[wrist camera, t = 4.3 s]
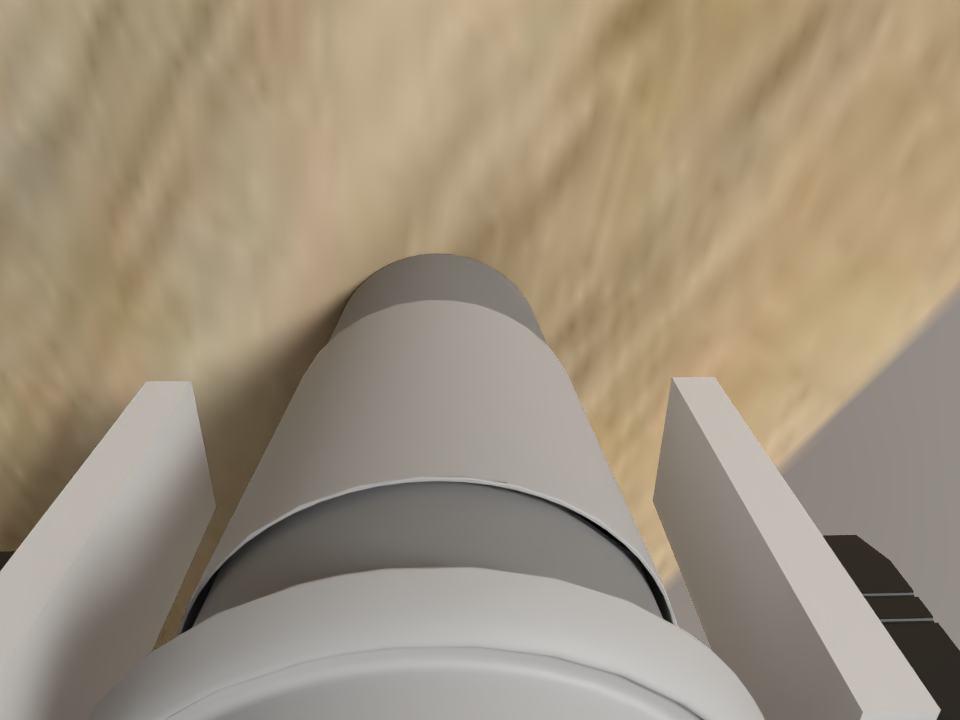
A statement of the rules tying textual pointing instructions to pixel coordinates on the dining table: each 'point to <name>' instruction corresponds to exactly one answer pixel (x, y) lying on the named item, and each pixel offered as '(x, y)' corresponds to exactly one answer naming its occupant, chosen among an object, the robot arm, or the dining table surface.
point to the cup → (432, 541)
